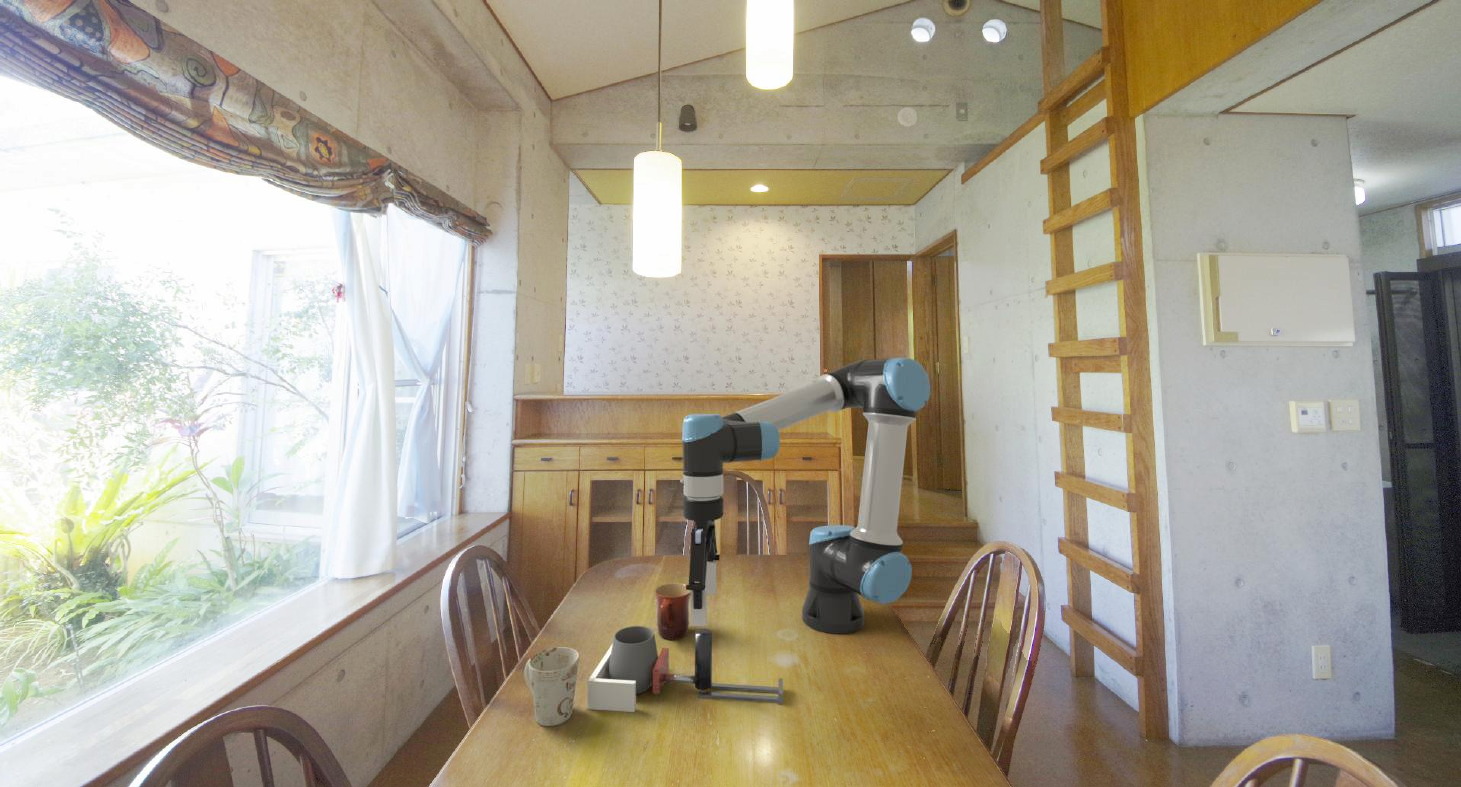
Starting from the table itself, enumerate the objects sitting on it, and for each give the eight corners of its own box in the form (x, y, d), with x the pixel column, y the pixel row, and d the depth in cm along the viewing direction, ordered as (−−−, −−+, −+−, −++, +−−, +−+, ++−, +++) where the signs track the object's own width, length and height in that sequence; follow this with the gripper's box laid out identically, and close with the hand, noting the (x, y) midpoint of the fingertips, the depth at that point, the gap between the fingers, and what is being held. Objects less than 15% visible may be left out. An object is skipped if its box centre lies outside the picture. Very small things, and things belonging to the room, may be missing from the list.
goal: (654, 667, 108) (654, 643, 108) (634, 712, 93) (634, 683, 93) (614, 665, 109) (614, 640, 109) (587, 709, 94) (587, 681, 94)
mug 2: (661, 623, 128) (661, 581, 128) (696, 627, 126) (696, 584, 126) (643, 647, 116) (643, 601, 116) (681, 651, 114) (681, 604, 114)
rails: (782, 689, 100) (782, 678, 100) (782, 704, 95) (782, 693, 95) (701, 684, 102) (701, 673, 102) (697, 699, 97) (697, 688, 97)
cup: (606, 678, 104) (606, 627, 104) (653, 670, 107) (653, 620, 107) (612, 705, 95) (612, 650, 95) (663, 695, 98) (663, 642, 98)
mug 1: (550, 737, 86) (550, 676, 86) (502, 712, 93) (502, 655, 93) (588, 711, 93) (589, 654, 93) (542, 689, 100) (542, 636, 100)
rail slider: (714, 674, 103) (714, 623, 103) (708, 698, 95) (709, 643, 95) (662, 671, 104) (662, 621, 104) (652, 694, 96) (653, 640, 96)
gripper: (694, 483, 112) (695, 583, 112) (669, 512, 87) (671, 639, 87) (729, 483, 111) (730, 584, 111) (714, 512, 86) (716, 641, 87)
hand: (704, 608), depth 99 cm, fingers open, 13 cm apart
